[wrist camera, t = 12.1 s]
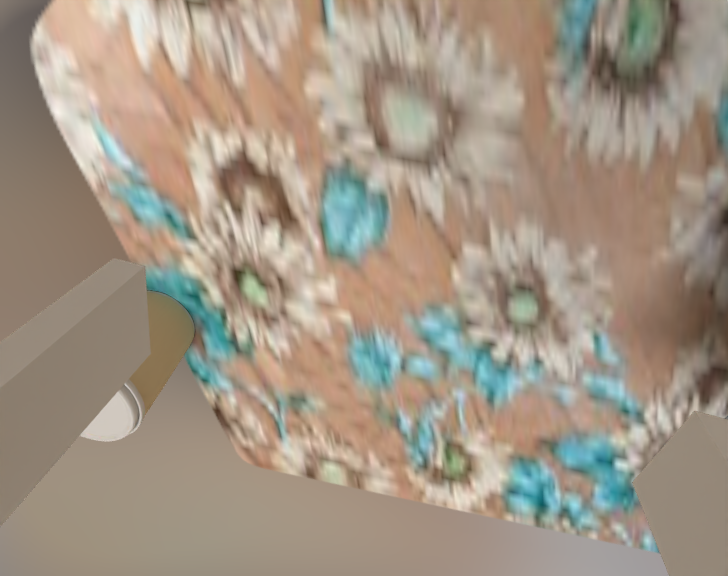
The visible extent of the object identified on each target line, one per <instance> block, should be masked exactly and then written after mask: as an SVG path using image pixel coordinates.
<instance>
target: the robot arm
mask: <svg viewBox="0 0 728 576" xmlns="http://www.w3.org/2000/svg"><path fill="white" fill-rule="evenodd" d="M150 354H151V349H150V334H149V319H148V304H147V289H146V274H145V266H142V265H138V264H134V263H130V262H127V261H123V260H119V259H115V258H113V259H112V260H111V261H109V262H108V263H107V264H105V265H104V266H103V267H101V268H100V269H99V270H97V271H96V272H95V273H93V274H92V275H90V276H89V277H88V278H86V279H85V280H84V281H83V282H81V283H80V284H78V285H77V286H76V287H74V288H73V289H71V290H70V291H69V292H68V293H66V294H65V295H63V296H62V297H61V298H59V299H58V300H57V301H55V302H54V303H53V304H51V305H50V306H49V307H47V308H46V309H44V310H43V311H42V312H40V313H39V314H38V315H36V316H35V317H34V318H32V319H31V320H29V321H28V322H27V323H25V324H24V325H23V326H22V327H20V328H19V329H17V330H16V331H15V332H13V333H12V334H11V335H9V336H8V337H6V338H5V339H4V340H2V341H1V342H0V527H1V526H2V524H3V523H4V522H5V521H6V520H7V519H8V518H9V516H10V515H11V514H12V513H13V512H14V511H15V509H16V508H17V507H18V506H19V505H20V504H21V503H22V501H23V500H24V499H25V498H26V497H27V496H28V494H29V493H30V492H31V491H32V490H33V489H34V488H35V486H36V485H37V484H38V483H39V482H40V481H41V479H42V478H43V477H44V476H45V475H46V474H47V473H48V471H49V470H50V469H51V468H52V467H53V466H54V464H55V463H56V462H57V461H58V460H59V459H60V458H61V456H62V455H63V454H64V453H65V452H66V451H67V449H68V448H69V447H70V446H71V445H72V444H73V443H74V441H75V440H76V439H77V438H78V437H79V436H80V435H81V433H82V432H83V431H84V430H85V429H86V428H87V427H88V425H89V424H90V423H91V422H92V421H93V420H94V418H95V417H96V416H97V415H98V414H99V413H100V412H101V410H102V409H103V408H104V407H105V406H106V405H107V403H108V402H109V401H110V400H111V399H112V398H113V397H114V395H115V394H116V393H117V392H118V391H119V390H120V388H121V387H122V386H123V385H124V384H125V383H126V382H127V380H128V379H129V378H130V377H131V376H132V375H133V374H134V372H135V371H136V370H137V369H138V368H139V367H140V365H141V364H142V363H143V362H144V361H145V360H146V359H147V357H148V356H149V355H150ZM632 483H633V486H634V488H635V491H636V493H637V496H638V498H639V501H640V503H641V506H642V508H643V511H644V513H645V516H646V519H647V521H648V524H649V526H650V529H651V531H652V534H653V536H654V539H655V541H656V544H657V546H658V549H659V552H660V554H661V557H662V559H663V562H664V564H665V566H666V569H667V572H668V574H669V576H728V416H727V417H726V418H720V417H716V416H712V415H709V414H705V413H701V412H697V411H694V412H693V413H692V414H691V416H690V417H689V418H688V419H687V420H686V421H685V422H684V424H683V425H682V426H681V427H680V428H679V429H678V430H677V432H676V433H675V434H674V435H673V436H672V437H671V438H670V440H669V441H668V442H667V443H666V444H665V445H664V446H663V448H662V449H661V450H660V451H659V452H658V453H657V455H656V456H655V457H654V458H653V459H652V460H651V461H650V463H649V464H648V465H647V466H646V467H645V468H644V469H643V471H642V472H641V473H640V474H639V475H638V476H637V477H636V479H635V480H634V481H633V482H632Z"/></svg>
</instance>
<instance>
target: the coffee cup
mask: <svg viewBox="0 0 728 576" xmlns="http://www.w3.org/2000/svg"><path fill="white" fill-rule="evenodd" d="M147 304H148V319H149V334H150V349H151V354H150V355H149V356H148V357H147V359H146V360H145V361H144V362H143V363H142V364H141V365H140V367H139V368H138V369H137V370H136V371H135V372H134V374H133V375H132V376H131V377H130V378H129V379H128V380H127V382H126V383H125V384H124V385H123V386H122V387H121V388H120V390H119V391H118V392H117V393H116V394H115V395H114V397H113V398H112V399H111V400H110V401H109V402H108V403H107V405H106V406H105V407H104V408H103V409H102V410H101V412H100V413H99V414H98V415H97V416H96V417H95V418H94V420H93V421H92V422H91V423H90V424H89V425H88V427H87V428H86V429H85V430H84V431H83V432H82V433H81V435H80V436H82V437H85V438H88V439H92V440H97V441H114V440H119V439H121V438H124V437H126V436H127V435H129V434H131V433H133V432H134V431H136V430H137V429H138V428H139V426H140V425H141V423H142V421H143V419H144V416H145V414H146V413H147V411H148V410H149V409H150V407H151V406H152V404H153V402H154V401H155V399H156V398H157V396H158V395H159V393H160V392H161V390H162V389H163V387H164V386H165V384H166V382H167V381H168V379H169V378H170V376H171V375H172V373H173V371H174V370H175V368H176V367H177V365H178V363H179V362H180V360H181V359H182V357H183V356H184V354H185V353H186V351H187V349H188V348H189V346H190V344H191V343H192V341H193V338H194V334H195V327H194V323H193V320H192V318H191V316H190V314H189V312H188V311H187V310H186V309H185V307H184V306H182V305H181V304H180V303H179V302H178V301H176V300H175V299H174V298H172V297H170V296H168V295H166V294H163V293H160V292H156V291H147Z"/></svg>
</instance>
